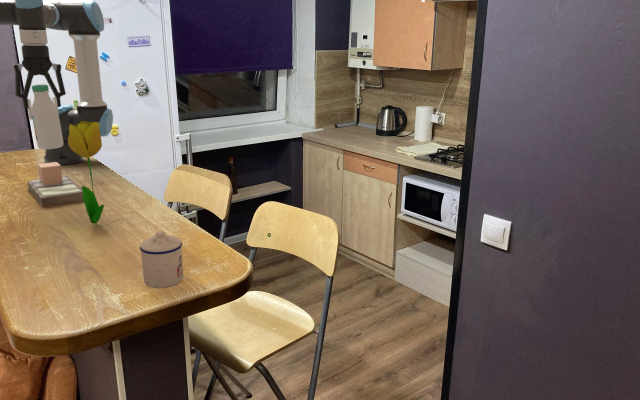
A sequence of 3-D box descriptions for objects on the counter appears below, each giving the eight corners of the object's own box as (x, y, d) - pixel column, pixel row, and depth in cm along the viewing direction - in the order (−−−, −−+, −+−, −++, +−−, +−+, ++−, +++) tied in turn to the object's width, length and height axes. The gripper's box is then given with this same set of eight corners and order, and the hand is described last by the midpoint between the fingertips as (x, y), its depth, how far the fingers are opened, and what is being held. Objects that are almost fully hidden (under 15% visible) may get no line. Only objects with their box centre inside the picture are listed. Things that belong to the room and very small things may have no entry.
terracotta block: (40, 180, 185) (37, 164, 184) (58, 178, 189) (56, 162, 187) (43, 184, 181) (41, 167, 179) (62, 182, 184) (60, 165, 182)
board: (28, 189, 187) (27, 180, 186) (68, 183, 194) (67, 175, 193) (42, 207, 168) (41, 197, 167) (85, 200, 176) (84, 191, 175)
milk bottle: (69, 144, 177) (58, 84, 170) (51, 151, 171) (39, 88, 163) (50, 142, 180) (39, 82, 172) (32, 148, 173) (20, 86, 166)
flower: (117, 222, 156) (107, 120, 147) (99, 231, 149) (87, 124, 140) (92, 219, 159) (80, 118, 150) (73, 228, 151) (59, 122, 142)
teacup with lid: (187, 285, 119) (184, 236, 115) (145, 292, 115) (140, 241, 112) (178, 264, 129) (175, 218, 126) (139, 270, 126) (134, 223, 122)
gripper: (-1, 44, 159) (11, 121, 165) (71, 45, 170) (79, 117, 177) (-4, 44, 165) (7, 118, 171) (66, 45, 176) (74, 115, 182)
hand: (44, 118), depth 174 cm, fingers closed on milk bottle, 7 cm apart
